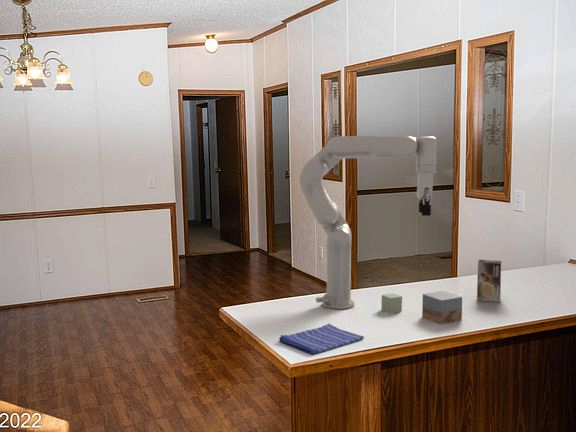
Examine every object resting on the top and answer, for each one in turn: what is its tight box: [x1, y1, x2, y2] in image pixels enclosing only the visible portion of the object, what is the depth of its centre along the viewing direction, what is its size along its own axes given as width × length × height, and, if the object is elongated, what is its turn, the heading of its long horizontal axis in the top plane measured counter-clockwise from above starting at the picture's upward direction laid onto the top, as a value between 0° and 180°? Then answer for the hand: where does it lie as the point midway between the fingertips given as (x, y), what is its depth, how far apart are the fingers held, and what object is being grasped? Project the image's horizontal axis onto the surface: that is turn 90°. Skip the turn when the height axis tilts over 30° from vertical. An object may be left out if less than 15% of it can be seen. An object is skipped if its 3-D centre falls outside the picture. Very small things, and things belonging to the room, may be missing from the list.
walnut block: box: [421, 306, 463, 325], centre depth 228 cm, size 10×10×4 cm
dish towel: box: [278, 323, 365, 356], centre depth 203 cm, size 17×24×3 cm
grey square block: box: [422, 290, 463, 313], centre depth 227 cm, size 10×10×4 cm
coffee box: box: [476, 259, 502, 303], centre depth 253 cm, size 9×6×16 cm
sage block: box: [380, 292, 403, 314], centre depth 238 cm, size 6×6×6 cm
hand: (424, 213), depth 237 cm, fingers open, 9 cm apart
